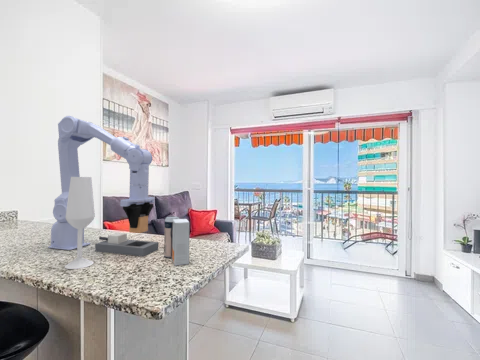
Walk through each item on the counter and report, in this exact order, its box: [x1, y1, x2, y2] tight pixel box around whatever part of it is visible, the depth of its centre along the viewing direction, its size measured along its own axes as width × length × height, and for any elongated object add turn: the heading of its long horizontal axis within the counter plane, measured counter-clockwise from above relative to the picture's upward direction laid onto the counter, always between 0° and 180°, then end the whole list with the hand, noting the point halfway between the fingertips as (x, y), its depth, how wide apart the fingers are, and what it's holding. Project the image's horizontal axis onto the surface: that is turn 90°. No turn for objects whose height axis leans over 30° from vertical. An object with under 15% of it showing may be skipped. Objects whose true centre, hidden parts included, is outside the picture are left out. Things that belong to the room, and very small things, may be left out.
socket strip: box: [94, 232, 159, 257], centre depth 81 cm, size 20×8×5 cm, turn 76°
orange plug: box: [128, 214, 149, 234], centre depth 80 cm, size 4×4×6 cm
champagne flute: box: [64, 176, 96, 270], centre depth 67 cm, size 7×7×24 cm
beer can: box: [163, 216, 180, 259], centre depth 75 cm, size 5×5×12 cm
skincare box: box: [171, 218, 190, 266], centre depth 70 cm, size 6×4×12 cm
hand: (138, 226), depth 80 cm, fingers closed on orange plug, 4 cm apart
